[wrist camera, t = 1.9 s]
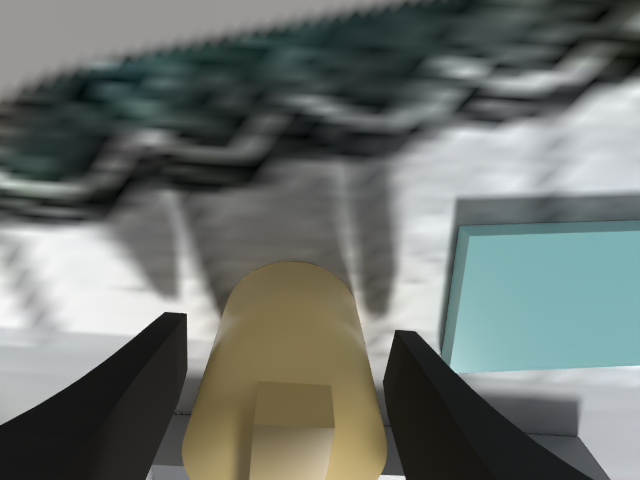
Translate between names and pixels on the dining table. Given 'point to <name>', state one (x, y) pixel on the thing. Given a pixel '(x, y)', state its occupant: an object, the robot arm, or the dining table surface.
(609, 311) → the lid plate
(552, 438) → the housing
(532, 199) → the dining table surface
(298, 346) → the beige cylinder with tab
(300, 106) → the dining table surface
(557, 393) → the dining table surface
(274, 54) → the dining table surface
